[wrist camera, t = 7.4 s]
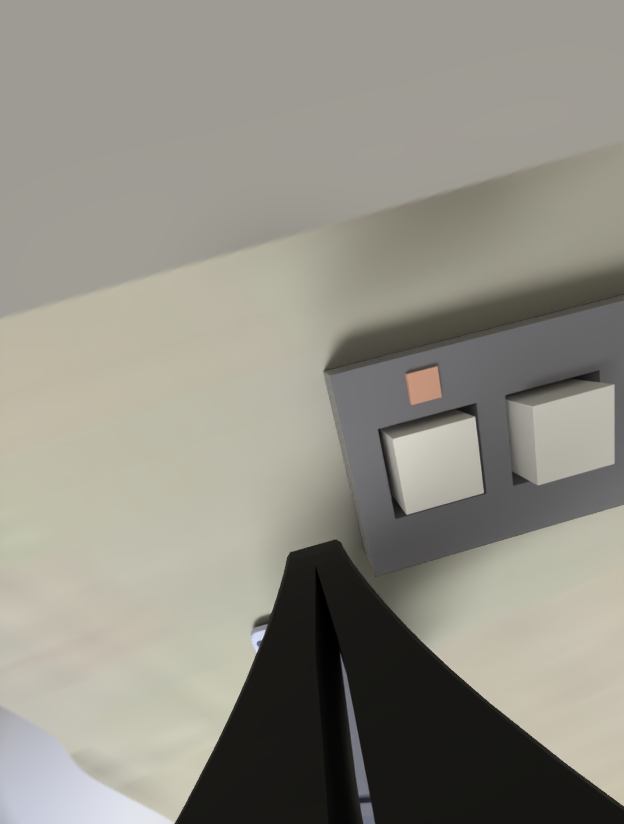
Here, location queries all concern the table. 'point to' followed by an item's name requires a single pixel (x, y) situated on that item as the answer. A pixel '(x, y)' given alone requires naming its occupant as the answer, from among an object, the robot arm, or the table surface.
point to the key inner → (432, 460)
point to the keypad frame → (485, 400)
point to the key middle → (561, 429)
